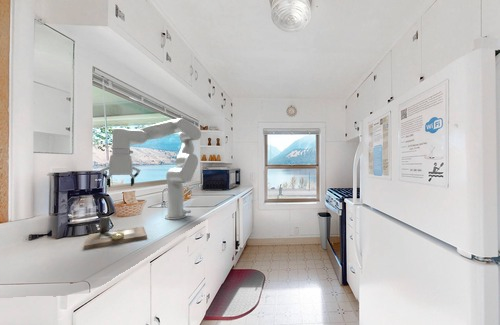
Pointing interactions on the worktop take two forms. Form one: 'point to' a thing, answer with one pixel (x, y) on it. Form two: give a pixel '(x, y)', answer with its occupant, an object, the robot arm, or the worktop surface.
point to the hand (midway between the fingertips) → (120, 186)
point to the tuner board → (105, 240)
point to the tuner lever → (105, 229)
